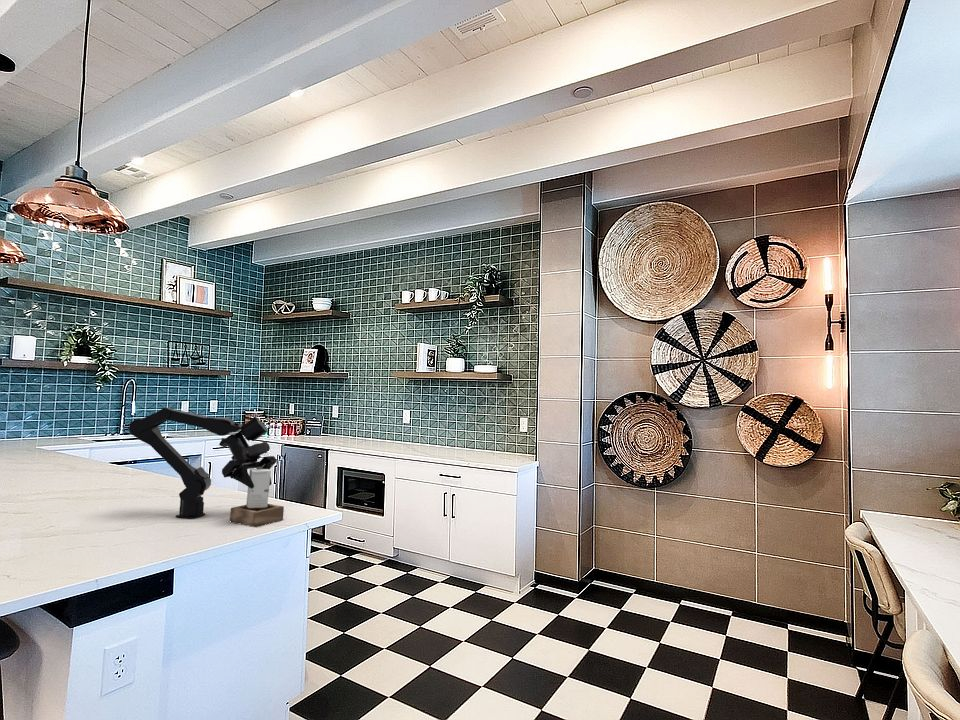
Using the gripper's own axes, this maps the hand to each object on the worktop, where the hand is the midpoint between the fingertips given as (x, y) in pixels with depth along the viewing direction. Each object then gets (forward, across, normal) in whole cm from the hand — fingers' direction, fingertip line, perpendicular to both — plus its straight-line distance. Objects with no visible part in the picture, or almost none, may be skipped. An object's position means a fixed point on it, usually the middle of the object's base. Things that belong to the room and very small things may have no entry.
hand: (261, 486), depth 179 cm
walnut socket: (+7, 0, +9) cm, 12 cm away
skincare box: (+4, 0, +6) cm, 7 cm away
